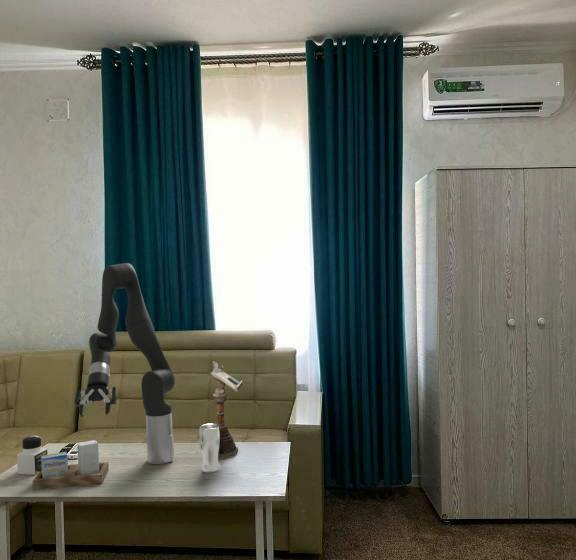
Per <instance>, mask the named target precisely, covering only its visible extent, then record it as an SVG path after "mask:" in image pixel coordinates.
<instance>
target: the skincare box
mask: <svg viewBox="0 0 576 560" xmlns="http://www.w3.org/2000/svg"><path fill="white" fill-rule="evenodd" d="M76 446H77V447H76V448H77V462H78V463H77V464H78V466H79V475H88V474H99V462H100V457H99V455H100V453H99V442H98V441H97V440H95V439H92V440H87V441H83V442H77V445H76Z"/></svg>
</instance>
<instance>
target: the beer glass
mask: <svg viewBox="0 0 576 560" xmlns="http://www.w3.org/2000/svg"><path fill="white" fill-rule="evenodd" d="M198 434H199V435H198V436H199V449H200V451H201V457H202V465H201V466H202V467H201V471H202V472H203V473H208V474H209V473H210V474H212V473H216V472H219V470H220V469H221V468H220V463H219V459H218V453H219V446H220V433H219V425H217V423H205V424H202V425H200V426H199V433H198Z"/></svg>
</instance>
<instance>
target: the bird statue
mask: <svg viewBox="0 0 576 560" xmlns="http://www.w3.org/2000/svg"><path fill="white" fill-rule="evenodd" d="M212 365H213V370H212V371H211V372H210V373H209V374H210V375H211V377H212V378H213V379H214V380H215V381H216V382H217V384H218V387H217V388H215V390H214V393H213V395H212V396H213V398H214V399H213V400H214V401H213V402H215V403H216V407H217V408H216V411H217V412H216V415H217V423H216V424H217V425H219V433H220V446H219V453H218V460H219V459H222V460H224V459H228V458H233V457H236V455H237V454H238V453H239V447H237V446H236V443H235V441H234V437H233V435H232V434H231V433H230V431H229V430H228V429H229V428H228V425H227V424H226V423H225V409H224V408H225V406H224V404H225V402H226V401H227V395H228V394H227V393H226V389H225V388H224V387H225V386H228V387H229V388H231V389H232V390H233V391H234V393H238V390H239V389H241V387H242V386H243V380H242V379H241V380H240V381H239V380H237V379H236V378H234V377H233V376H231V375H229V374H228V373H227V372H225V371H224V368H225V367H224V364H221V366H220V368H219V364H218V362H216V361H212Z"/></svg>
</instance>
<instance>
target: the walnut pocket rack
mask: <svg viewBox="0 0 576 560" xmlns="http://www.w3.org/2000/svg"><path fill="white" fill-rule="evenodd" d="M109 471H110V470H109V461H101V462H100V461H99V474H88V475H79V466H78V463H77V464H68V472H67V473H66V474H65V475H64V477H54V478H42V470H41V471H40V472H39V473H38V474H36V475H35V477H34V479H33V480H32V490H33V491H35V490H45V489H46V490H47V489H56V488H57V489H58V488H69V487H80V486H90V485H91V486H92V485H103V484H104V481H105V478H106V476H107V474H108V473H109Z"/></svg>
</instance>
